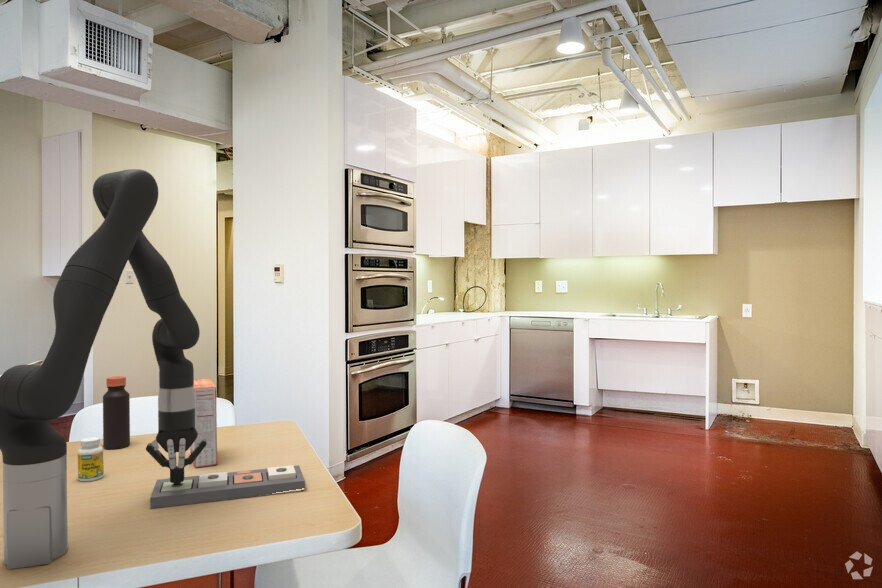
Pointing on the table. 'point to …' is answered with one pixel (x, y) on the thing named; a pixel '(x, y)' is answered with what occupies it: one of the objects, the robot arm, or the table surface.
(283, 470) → the key cream
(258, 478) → the key terracotta
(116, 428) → the vinegar
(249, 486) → the grey flat board
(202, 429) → the cracker box
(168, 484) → the key sage
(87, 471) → the supplement bottle
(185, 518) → the table surface
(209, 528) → the table surface
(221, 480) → the key white
